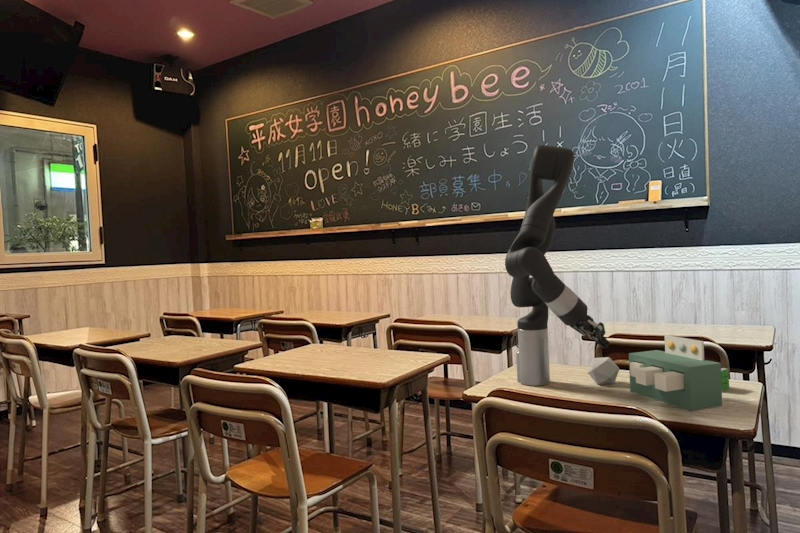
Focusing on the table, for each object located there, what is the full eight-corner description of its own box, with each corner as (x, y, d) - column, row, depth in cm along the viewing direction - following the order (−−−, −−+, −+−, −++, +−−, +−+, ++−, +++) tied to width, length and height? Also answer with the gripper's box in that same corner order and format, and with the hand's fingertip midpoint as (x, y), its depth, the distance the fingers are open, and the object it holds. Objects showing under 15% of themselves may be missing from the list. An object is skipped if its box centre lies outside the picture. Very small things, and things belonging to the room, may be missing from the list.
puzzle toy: (729, 388, 159) (728, 368, 159) (718, 392, 156) (717, 371, 156) (709, 385, 164) (708, 365, 164) (698, 388, 161) (697, 368, 161)
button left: (630, 375, 159) (629, 362, 158) (647, 373, 160) (647, 360, 160) (639, 378, 155) (639, 364, 155) (657, 376, 157) (657, 362, 157)
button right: (654, 388, 144) (654, 373, 144) (673, 385, 146) (673, 371, 146) (666, 391, 140) (665, 376, 140) (685, 388, 142) (684, 373, 142)
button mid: (635, 382, 151) (635, 368, 151) (654, 380, 152) (653, 366, 152) (646, 385, 147) (645, 371, 147) (664, 383, 149) (664, 368, 149)
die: (615, 390, 166) (627, 361, 169) (588, 375, 168) (600, 347, 170) (606, 393, 174) (617, 365, 177) (580, 379, 175) (592, 352, 178)
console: (630, 391, 161) (628, 336, 161) (658, 387, 164) (656, 332, 164) (691, 411, 140) (688, 347, 140) (722, 405, 143) (720, 343, 143)
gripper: (589, 294, 142) (631, 338, 146) (559, 292, 155) (598, 332, 159) (571, 317, 141) (614, 360, 145) (543, 312, 154) (583, 353, 157)
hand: (606, 345), depth 152 cm, fingers closed
